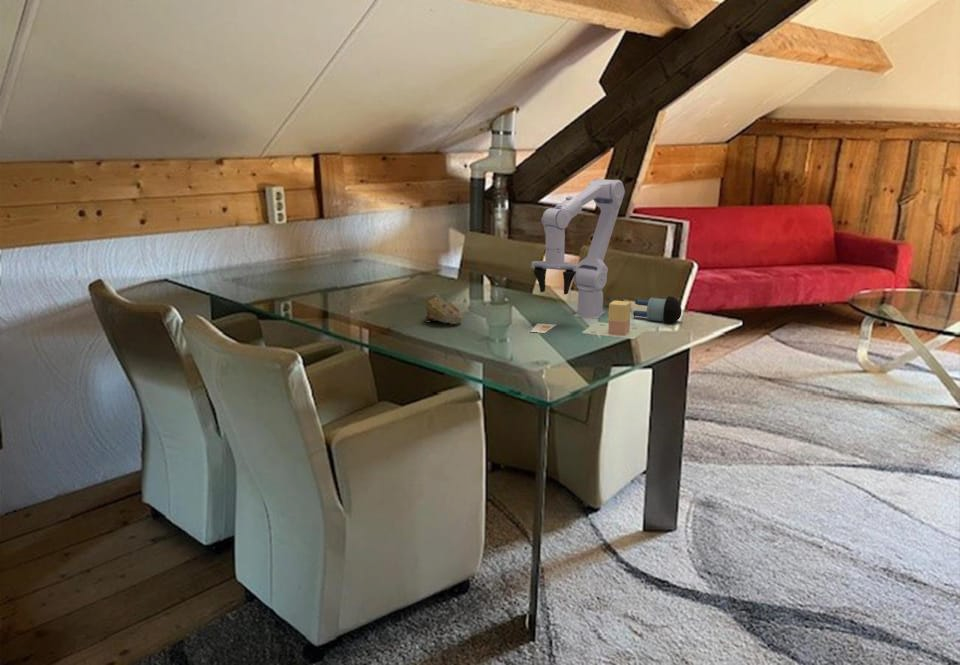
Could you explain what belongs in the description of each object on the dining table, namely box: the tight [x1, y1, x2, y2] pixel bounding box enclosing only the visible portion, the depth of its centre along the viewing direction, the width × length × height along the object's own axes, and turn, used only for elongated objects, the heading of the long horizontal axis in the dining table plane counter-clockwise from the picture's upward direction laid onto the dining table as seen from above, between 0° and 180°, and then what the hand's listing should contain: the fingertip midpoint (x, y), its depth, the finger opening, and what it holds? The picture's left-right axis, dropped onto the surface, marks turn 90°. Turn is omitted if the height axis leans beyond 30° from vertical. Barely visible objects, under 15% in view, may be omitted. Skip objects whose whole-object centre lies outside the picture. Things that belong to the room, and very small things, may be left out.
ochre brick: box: [608, 300, 631, 322], centre depth 217 cm, size 5×5×5 cm
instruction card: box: [529, 323, 557, 334], centre depth 225 cm, size 10×7×1 cm
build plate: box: [581, 321, 648, 340], centre depth 221 cm, size 14×16×1 cm
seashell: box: [425, 293, 464, 325], centre depth 233 cm, size 11×14×10 cm
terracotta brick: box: [608, 318, 631, 335], centre depth 218 cm, size 5×5×4 cm
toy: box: [632, 295, 683, 324], centre depth 231 cm, size 8×9×15 cm
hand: (554, 292), depth 226 cm, fingers open, 7 cm apart
